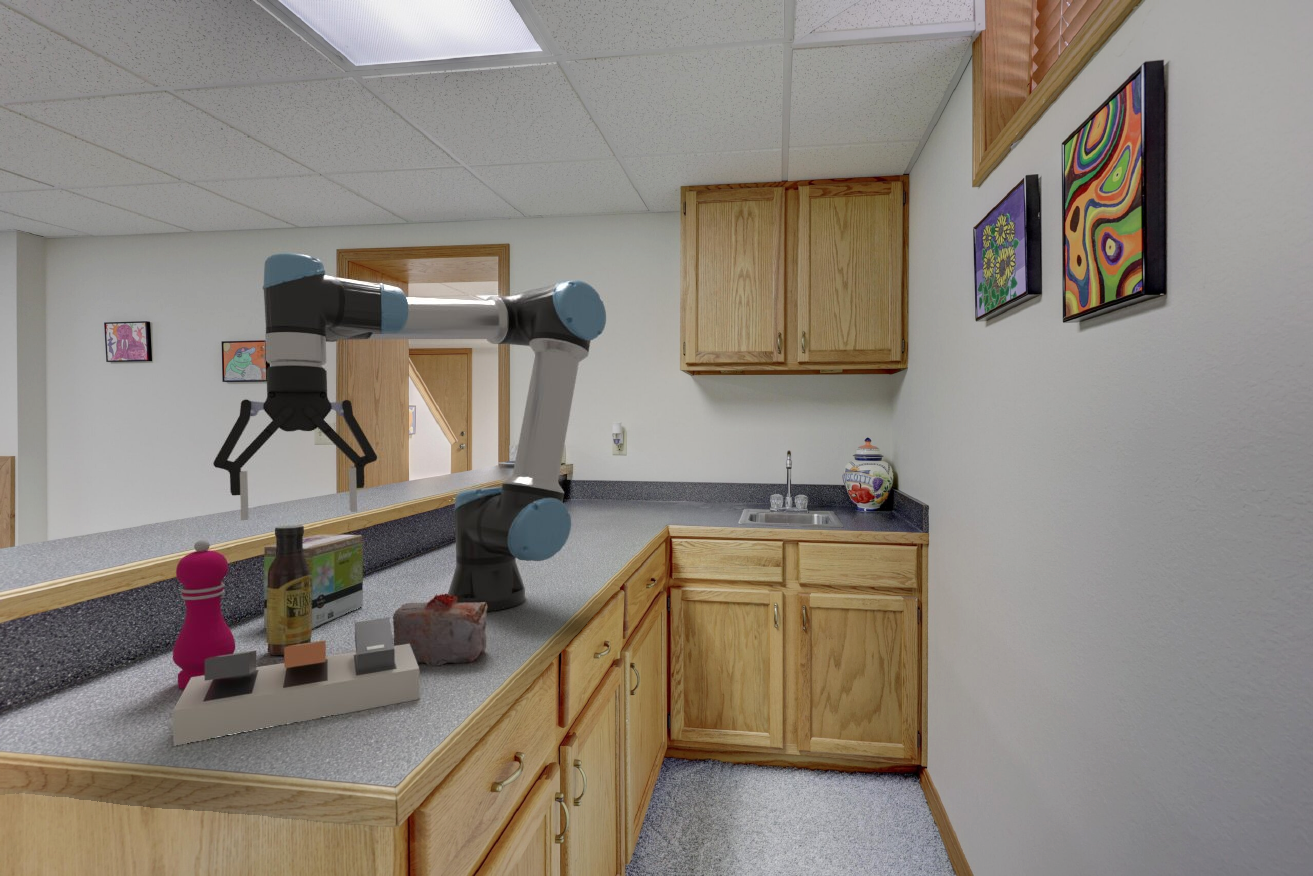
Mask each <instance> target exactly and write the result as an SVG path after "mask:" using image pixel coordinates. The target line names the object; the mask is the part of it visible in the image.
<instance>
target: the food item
mask: <svg viewBox="0 0 1313 876" xmlns="http://www.w3.org/2000/svg"><path fill="white" fill-rule="evenodd" d="M457 600H458V599H457V597H456V596H454V595H451V596H450V595H448V593H444V594H443V593H442V594H438V595H437V594H435V595H434V597H433V598H431V600H429V601H428V602H427V601H426V602H424V601H423V602H408V603H404V604H402V605H401V606H400V607H399V608H398V609H396V610H395V611H394V614H393V615H392V621H393V623H392V624H393V642H394V646H397V645H404V644H410V646H411V648H412V651H413V654H414V656H415V659H416V661H417V664H418V665H419V664H420V665H421V664H427V665H428V666H430V667H437V666H442V665H444V664H449V663H454V664H455V663H456V664H457V663H471V662H473V661H474V660H475V659H478V657H479V655H480V654H481V653H484V652H485V651H486V648H487V635H486V629H487V612H488V611H487V608H488V607H487V603H486V602H480V603H457Z"/></svg>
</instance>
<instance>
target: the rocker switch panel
mask: <svg viewBox="0 0 1313 876" xmlns="http://www.w3.org/2000/svg"><path fill="white" fill-rule="evenodd" d="M394 648H395V665H392V666H386V667H380V668H374V669H368V670H362V671H357V659H356V651H353V652H347V653H339V654H335V655H326V661H325V662H321V663H314V664H308V665H302V666H295V667H289V668H284V662H282V663H276V664H275V663H274V664H268V665H261V666H256V670H255V671H253V672H251V673H250V674H245V675H238V676H232V677H226V678H219V679H213V680H207V681H205V675H203V676H197V677H191V679H190V681H189V682H188V684H187V686H186V688H185V690H183V692H182V693H181V695H180V697H179V699H178V701H177V702H176V705H175V706H174V708H173V709H172V730H173V731H172V732H173V734H172V735H173V739H172V740H173V747H177V746H176V745H178V746H183V745H187V743H189V744H191V743H190V742H194V743H197V742H196V741H199V742H203V741H202V740H204V741H206V740H205V739H209V740H211V739H210V738H215V737H217V736H224V735H228V734H234V733H238V732H244V731H250V730H256V729H260V728H266V727H270V726H277V725H282V724H287V723H292V722H298V723H301V721H303V722H307V720H308V721H311V720H312V719H313V720H316V719H315V718H318V719H321V718H320V717H323V716H329V717H332V716H331V715H334V716H337V715H338V714H339V715H343V714H348V713H354V712H358V711H365V710H370V709H375V708H380V707H384V706H390V705H394V704H401V703H406V702H411V701H417V700H421V697H420V695H421V694H420V693H421V691H420V690H421V689H420V688H421V687H420V685H421V683H420V666H419V664H417V661H416V659H415V656H414V654H413V651H412V648H411V646H410V644H404V645H397V646H394ZM313 720H312V721H313ZM287 725H288V724H287ZM282 726H283V725H282ZM277 727H278V726H277ZM256 731H257V730H256ZM215 739H216V738H215ZM182 744H183V745H182Z"/></svg>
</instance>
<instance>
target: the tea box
mask: <svg viewBox="0 0 1313 876" xmlns="http://www.w3.org/2000/svg"><path fill="white" fill-rule="evenodd" d="M363 541H364V540H363V535H361V534H360V535H359V534H358V535H357V534H332V533H331V534H330V533H329V534H328V533H326V534H325V533H323V534H322V533H321V534H320V533H319V534H315V535H310V536H307V537H303V554H304V557H305V559H306V562H307V565H308V568H309V570H310V573H311V576H312V584H311V589H312V610H311V613H312V630H313V629H315V628H316V627H318V626H320V625H322V624H325V623H327V622H329V621H332V620H333V619H336V618H337V619H338V618H339V617H341V616H345V615H346V613H347V614H349V613H351V611H352V612H354V611H356V610H355V609H357V608H360V607H363V605H364V604H363V602H364V585H363V584H364V583H363V582H364V580H363V579H364V577H363V576H364V574H363V569H364V568H363V567H364V558H363V554H364V553H363V551H364V550H363V549H364V546H363V545H364V543H363ZM263 550H264V553H263V556H264V558H263V559H264V560H263V561H264V563H263V564H264V565H263V574H264V575H263V576H264V577H263V601H264V603H263V605H264V608H263V626H264V628H267V586H268V570H269V567H270V566H271V564H272V562H273V561H274V559H275V558H276V544H271V545H270V544H269V545H265V546H264V549H263ZM360 609H361V608H360ZM353 610H354V611H353ZM357 610H358V609H357ZM348 612H349V613H348Z"/></svg>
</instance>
